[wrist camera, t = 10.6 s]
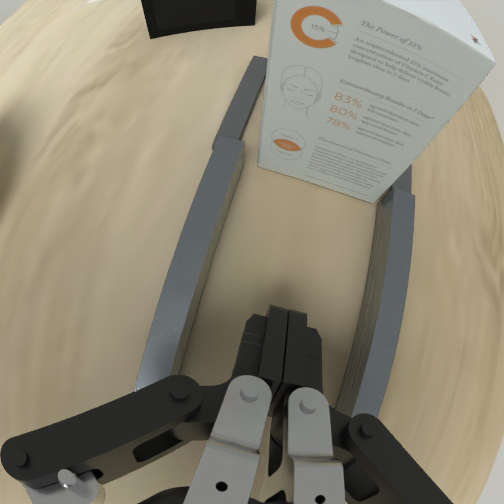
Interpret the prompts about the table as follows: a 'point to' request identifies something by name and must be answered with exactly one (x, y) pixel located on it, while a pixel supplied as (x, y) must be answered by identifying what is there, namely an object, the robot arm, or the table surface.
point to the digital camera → (196, 15)
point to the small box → (364, 87)
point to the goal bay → (245, 102)
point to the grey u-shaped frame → (199, 261)
